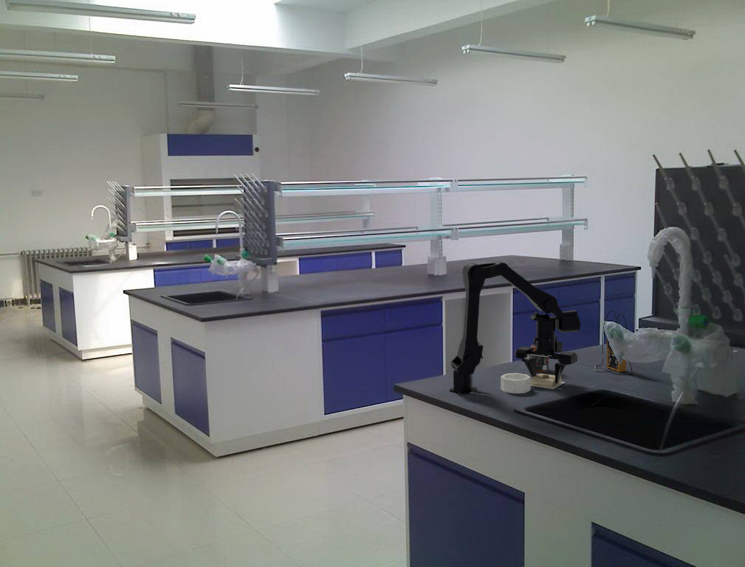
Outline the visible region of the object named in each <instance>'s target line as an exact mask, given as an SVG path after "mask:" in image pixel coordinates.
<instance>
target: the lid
mask: <svg viewBox="0 0 745 567" xmlns="http://www.w3.org/2000/svg"><path fill="white" fill-rule="evenodd" d="M561 382H562V376H561V377H560V380H559V382H558V384H559V383H561ZM558 384H556V382H555V374H547V373H538V374H536V376H534V377H532V376H531V377H530V385H536V386H543V387H550V388H552V387H554V386H556V385H558ZM536 386H535V387H536ZM543 387H542V388H543ZM550 388H549V389H550Z"/></svg>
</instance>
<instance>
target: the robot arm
mask: <svg viewBox="0 0 745 567" xmlns="http://www.w3.org/2000/svg"><path fill="white" fill-rule="evenodd" d="M496 277H501V278H503V279H504V280H505V281H506V282H508V283H509V284H510V285H511V286H513V287H514V288H515V289H517V290H518V291H519V292H521V293H522V294H524V296H525V297H526V298H527V299H528V301H529V302H530V303H531V304H532V305H533V307H535V308H536V310H538V311H540V312H543V313H542V314H541V313H539V312H536V311H534V312H533V314H532V315H530V317H529V319H530V320H532V321H536V336H535V337H534V338H535V341H537V350H535V351H534V349H533V348H532V347H531V346H521V347H519V348H516V349H515V352H514V354H515V355H514V356H515V358H516V359H521V360H520V361H521V362H523V363H524V364H525V366H526V367H527V369H528V372H529V373H530V377H531V378H532V377H534V376H536V375H537V372H536V360H537V357H540V358H548V359H551V360H556V361H557V362H556V363H555V364H554V376H555V382H556V384H558V382H559V380H560V377H561V378H562V374H563V371H564V369H565V367H566V366H567V365H568V366H569V365H572V364H575V363H577V362H578V354H577V353H576V352H575V351H574V352H573V351H563V344H564V343H563V342H562V341H561V340H558V336H557V335H556V331H558V332H559V333H560V334H562V333H579V331H580V330H581V322H580V317H579V314H578V311H577V310H575V309H574V310H573V309H572V310H567V311H566V310H565V311H562V309H561V308H560V306H559V305H558V299H557V298H556V297H555V296H554V295H552V294H550V293H547V292H546V291H544V290H542V289H540V288H537V287H536V286H534V285H533V284H532V283H530V282H529V281H528V280H527V279H525V278H524V277H523V276H522V275H520V273H518V272H516V271H515V270H514V269H512V268H511V267H510V266H509V265H508V264H507V263H506V262H504V261H503V262H502V261H495V262H489V263H488V262H487V263H480V264H478V263H475V262H468V263H466V264H465V265H464V266H463V268H462V283H463V285H464V289H465V302H464V303H465V304H464V319H463V321H464V322H463V331H462V332H463V333H462V334H463V335H462V339H461V341H460V343H459V346H458V349H457V350H458V351H457V355H456V356H455V357H454V358H453V359H452V360H451V361H450V365H451V368H452V369H453V372H452V374H453V377H452V378H453V380H452V382H453V383H452V384H453V386H452V387H451V388H449V391H450V392H455V393H459V392H460V394H466V395H467V394H470V393H472V391H474V390H477V387H476V386H474V384H473V383H474V382H473V377H474V376H473V375H474V373H475V371H476V367H478V365H479V364H481V360H483V359H484V357H483V351H484V345H483V344H482V343H480V342H479V340H478V330H479V314H480V313H479V312H480V298H481V292H482V290H483V288H484V285H485V281H486V280H487V279H493V278H496ZM550 314H551V316H550ZM540 354H543V355H540ZM548 355H549V356H548Z"/></svg>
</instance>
